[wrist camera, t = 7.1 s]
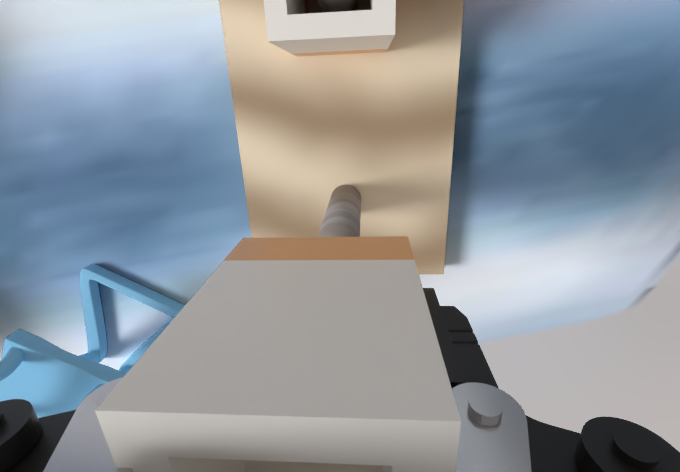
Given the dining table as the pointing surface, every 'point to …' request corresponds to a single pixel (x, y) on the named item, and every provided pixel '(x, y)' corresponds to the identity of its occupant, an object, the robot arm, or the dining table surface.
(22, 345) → the chair
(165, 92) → the dining table surface
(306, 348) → the sleeve
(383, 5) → the seated sleeve
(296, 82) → the pin board
